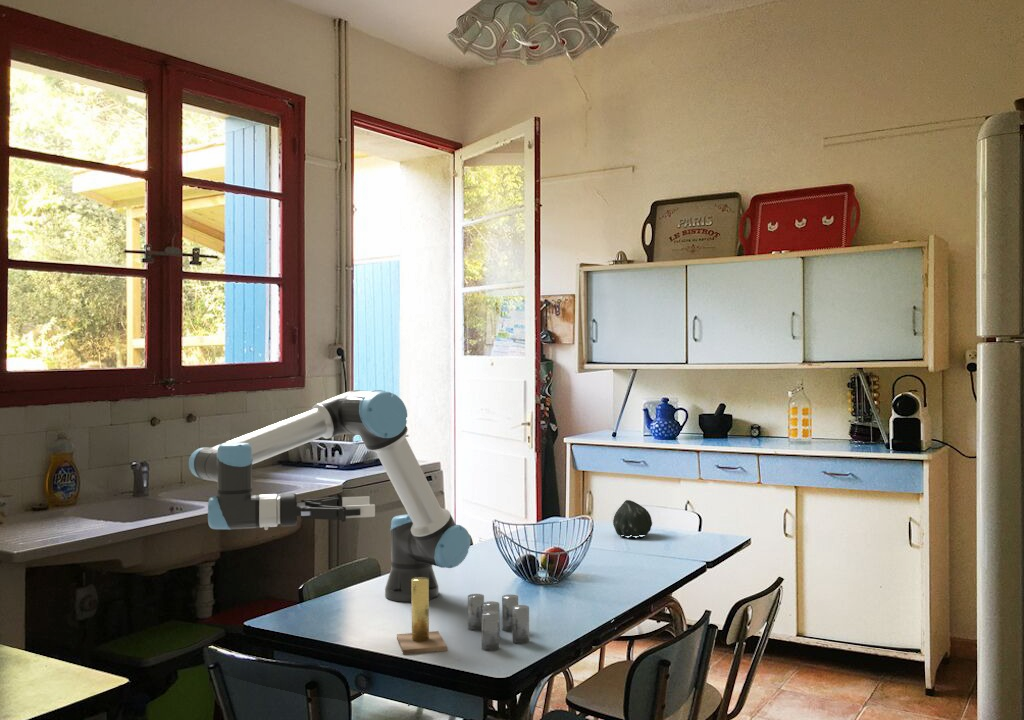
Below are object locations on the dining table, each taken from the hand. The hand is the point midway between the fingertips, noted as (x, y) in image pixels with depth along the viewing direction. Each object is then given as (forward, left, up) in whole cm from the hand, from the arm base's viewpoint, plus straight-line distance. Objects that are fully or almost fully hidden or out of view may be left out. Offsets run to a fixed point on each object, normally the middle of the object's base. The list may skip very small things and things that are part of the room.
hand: (372, 506), depth 206 cm
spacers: (+4, +30, -32) cm, 44 cm away
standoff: (+4, +11, -31) cm, 33 cm away
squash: (-103, +108, -32) cm, 152 cm away
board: (+5, +11, -32) cm, 34 cm away
